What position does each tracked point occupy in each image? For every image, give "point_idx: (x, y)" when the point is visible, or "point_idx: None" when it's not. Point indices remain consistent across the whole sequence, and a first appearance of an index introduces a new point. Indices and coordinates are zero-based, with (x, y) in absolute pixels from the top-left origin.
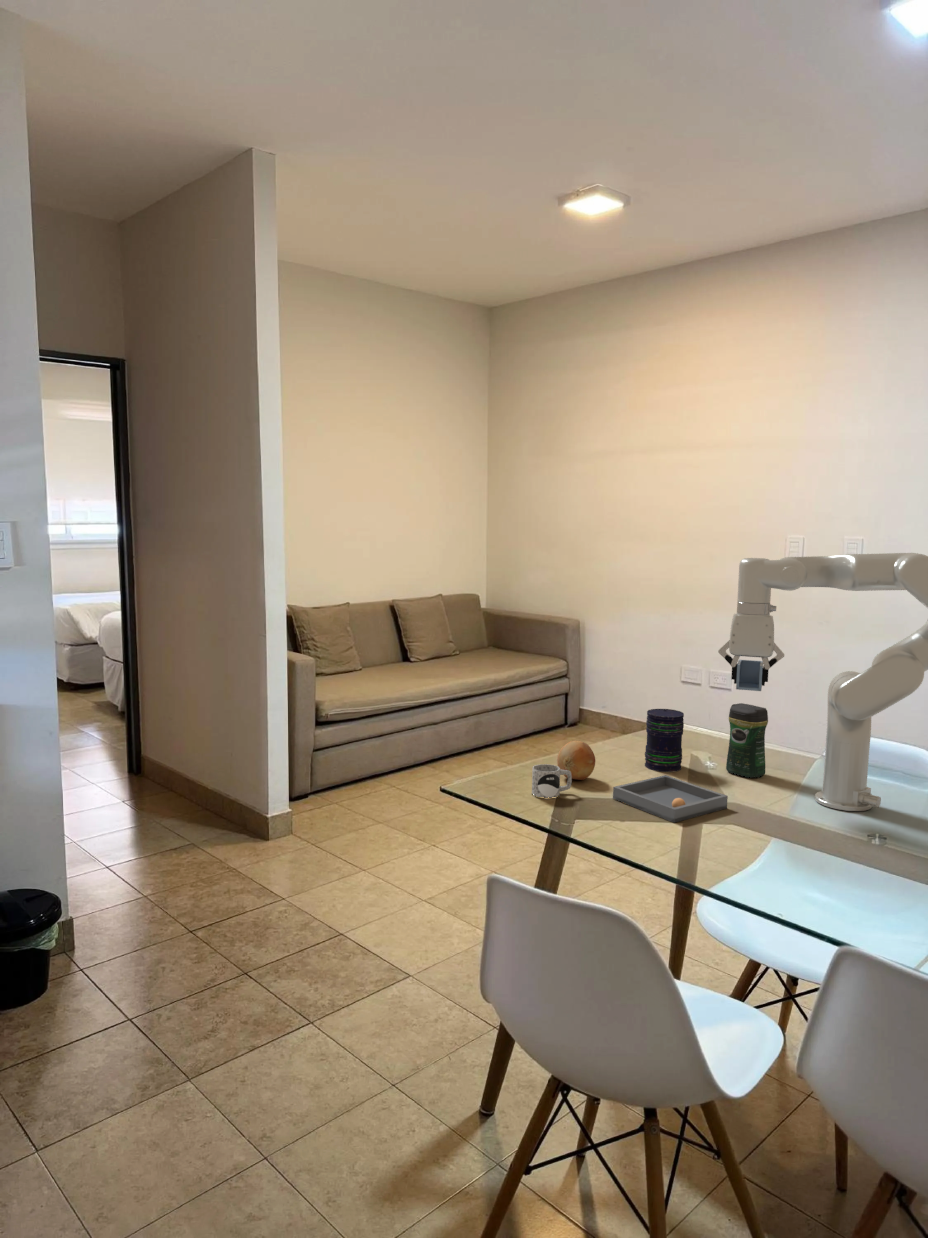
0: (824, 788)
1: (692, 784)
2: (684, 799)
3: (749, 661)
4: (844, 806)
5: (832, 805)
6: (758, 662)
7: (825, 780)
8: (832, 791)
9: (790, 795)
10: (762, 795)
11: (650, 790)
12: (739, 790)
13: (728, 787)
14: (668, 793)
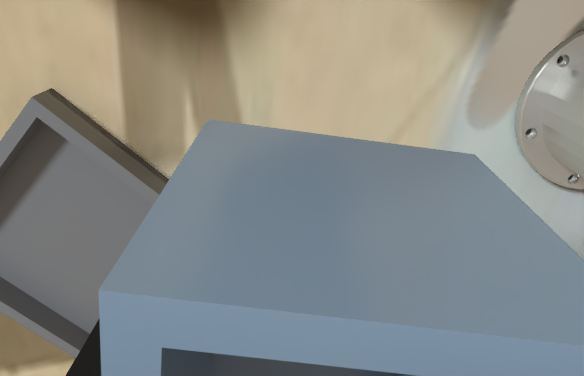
0: (557, 135)
1: (133, 178)
2: (126, 228)
3: (350, 356)
4: (573, 188)
5: (543, 176)
6: (540, 370)
7: (573, 146)
8: (569, 167)
9: (451, 67)
10: (359, 93)
11: (19, 173)
12: (291, 58)
13: (256, 32)
14: (75, 187)
